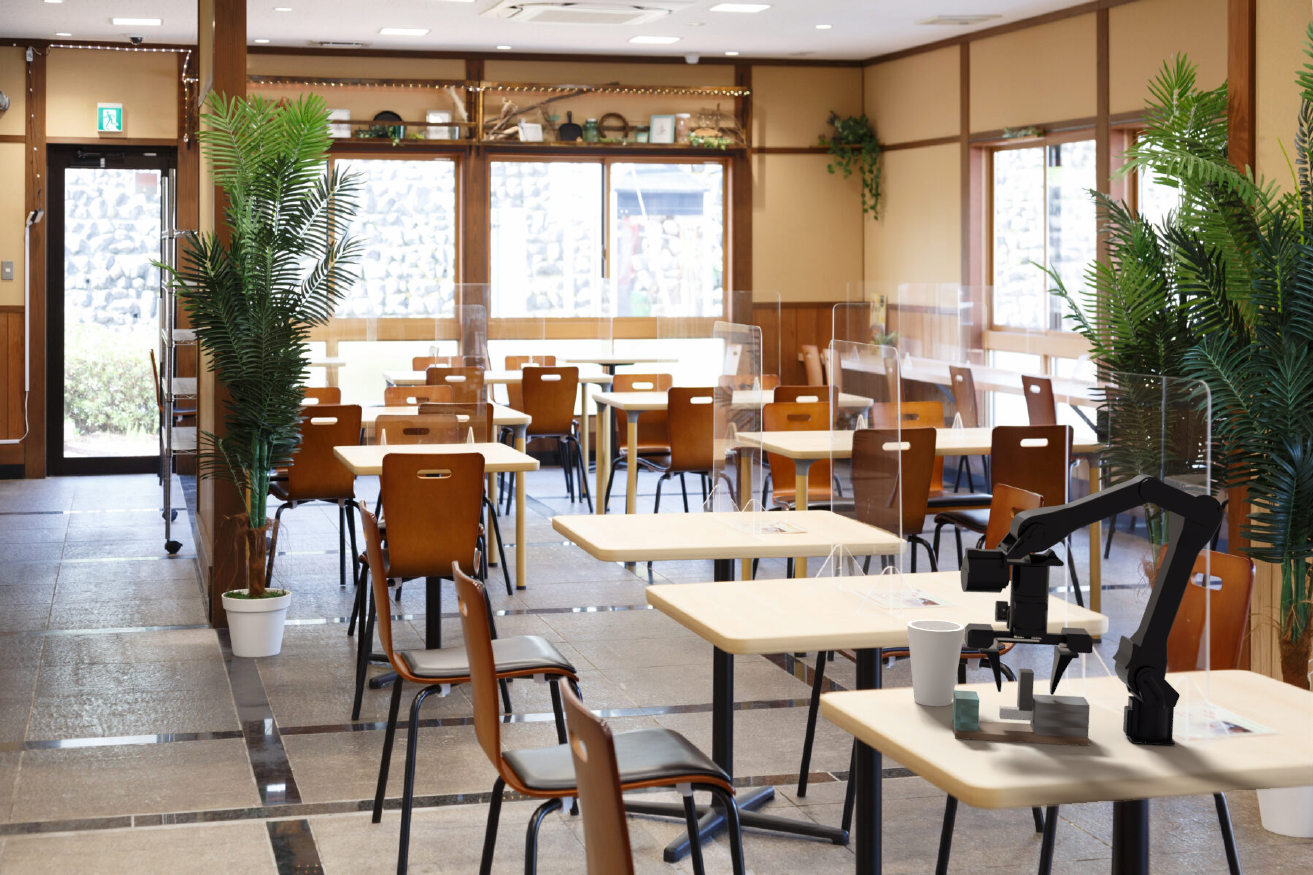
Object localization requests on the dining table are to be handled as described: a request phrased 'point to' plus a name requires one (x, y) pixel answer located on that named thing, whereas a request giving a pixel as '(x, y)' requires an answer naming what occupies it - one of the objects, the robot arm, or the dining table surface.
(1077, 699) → the wooden long base
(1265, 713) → the dining table surface
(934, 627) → the foam cup
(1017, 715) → the angled grey metal bar
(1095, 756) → the dining table surface
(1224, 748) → the dining table surface
